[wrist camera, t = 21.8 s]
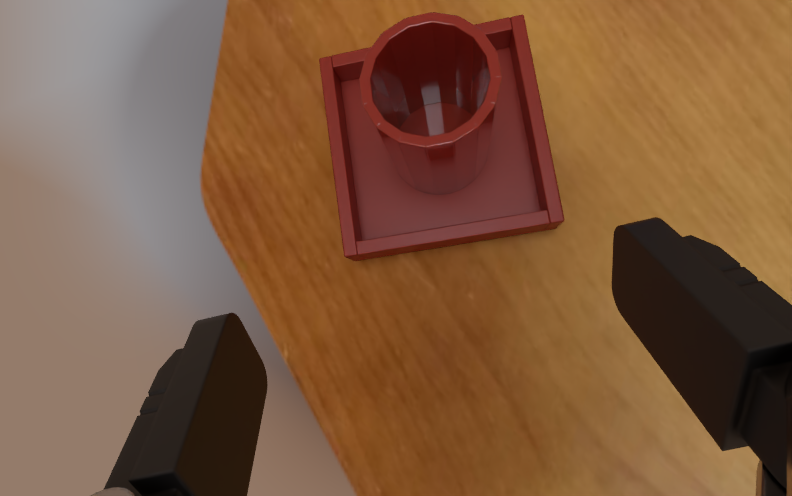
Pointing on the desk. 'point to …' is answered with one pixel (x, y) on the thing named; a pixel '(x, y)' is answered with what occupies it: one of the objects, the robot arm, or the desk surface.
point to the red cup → (433, 99)
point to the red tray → (456, 212)
